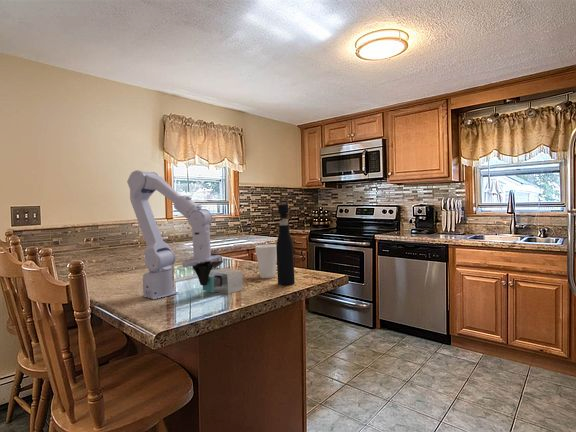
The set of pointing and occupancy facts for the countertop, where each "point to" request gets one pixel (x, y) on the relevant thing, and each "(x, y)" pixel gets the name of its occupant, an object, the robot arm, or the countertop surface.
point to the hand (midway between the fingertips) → (203, 284)
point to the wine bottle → (284, 250)
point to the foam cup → (266, 260)
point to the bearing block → (228, 280)
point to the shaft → (213, 283)
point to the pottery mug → (216, 263)
